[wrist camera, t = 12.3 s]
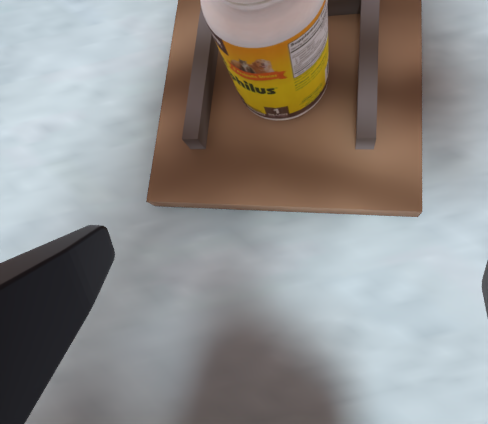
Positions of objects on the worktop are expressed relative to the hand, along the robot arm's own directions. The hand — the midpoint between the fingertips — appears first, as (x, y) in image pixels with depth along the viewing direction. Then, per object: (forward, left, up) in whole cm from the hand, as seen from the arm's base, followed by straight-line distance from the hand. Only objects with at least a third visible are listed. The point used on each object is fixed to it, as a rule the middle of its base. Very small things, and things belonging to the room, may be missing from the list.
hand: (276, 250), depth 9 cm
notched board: (+11, +7, -14) cm, 18 cm away
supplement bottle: (+10, +6, -13) cm, 18 cm away
